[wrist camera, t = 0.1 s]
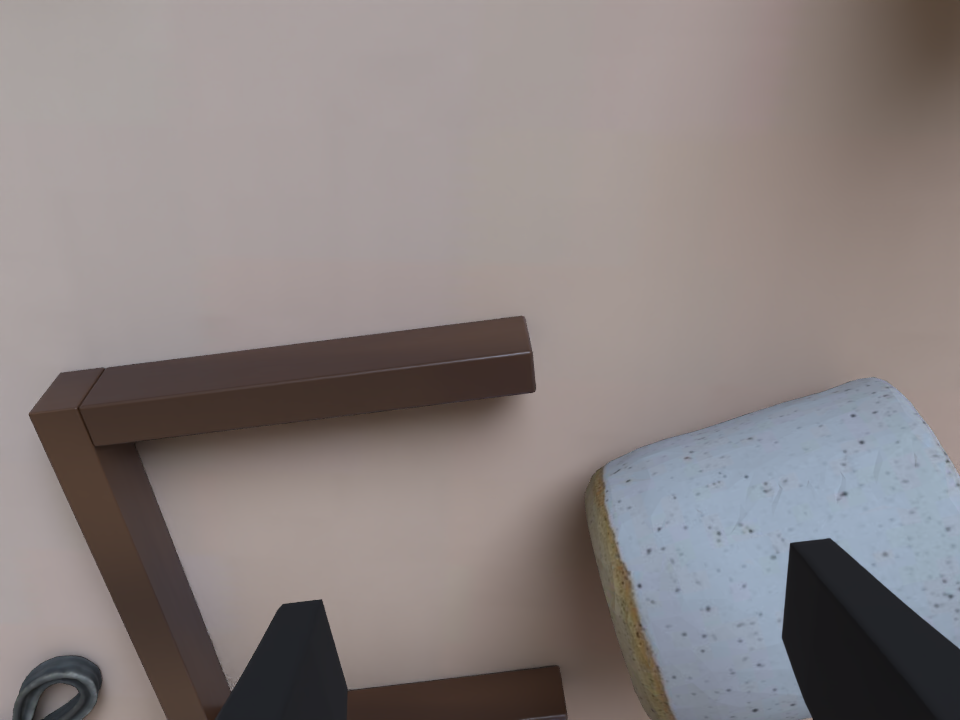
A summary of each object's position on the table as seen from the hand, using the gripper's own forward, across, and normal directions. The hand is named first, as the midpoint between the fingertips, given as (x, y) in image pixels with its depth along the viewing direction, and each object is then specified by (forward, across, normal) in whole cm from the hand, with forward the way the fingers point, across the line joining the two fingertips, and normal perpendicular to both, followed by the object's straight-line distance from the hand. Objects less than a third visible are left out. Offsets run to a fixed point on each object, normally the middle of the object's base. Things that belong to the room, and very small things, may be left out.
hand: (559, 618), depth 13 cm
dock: (+10, +5, +7) cm, 13 cm away
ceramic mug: (+10, -6, +7) cm, 14 cm away
